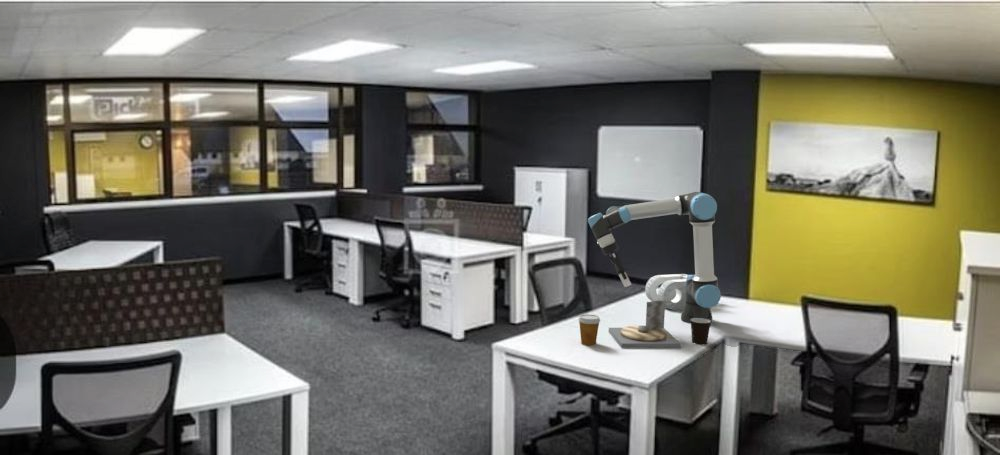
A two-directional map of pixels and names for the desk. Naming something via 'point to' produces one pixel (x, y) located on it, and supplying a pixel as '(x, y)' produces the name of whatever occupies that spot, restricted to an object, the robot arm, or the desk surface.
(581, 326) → the disposable coffee cup
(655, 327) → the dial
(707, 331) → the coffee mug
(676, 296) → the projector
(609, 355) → the desk surface
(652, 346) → the base
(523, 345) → the desk surface
